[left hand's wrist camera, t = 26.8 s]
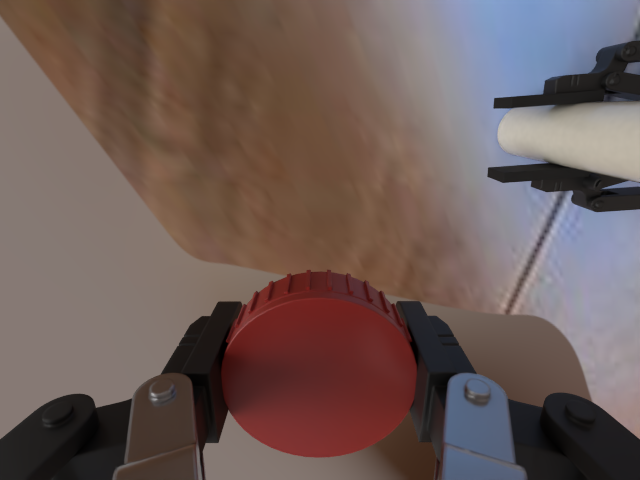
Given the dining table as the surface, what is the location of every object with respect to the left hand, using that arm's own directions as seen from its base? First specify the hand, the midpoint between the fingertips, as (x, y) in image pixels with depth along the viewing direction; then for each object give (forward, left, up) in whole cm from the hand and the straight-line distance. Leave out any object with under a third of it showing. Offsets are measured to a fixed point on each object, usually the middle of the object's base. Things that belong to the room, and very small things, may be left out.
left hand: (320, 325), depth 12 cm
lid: (0, 0, +2) cm, 2 cm away
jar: (-15, +13, -25) cm, 32 cm away
